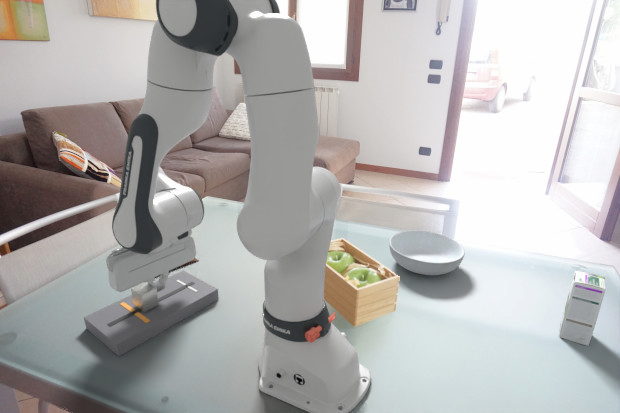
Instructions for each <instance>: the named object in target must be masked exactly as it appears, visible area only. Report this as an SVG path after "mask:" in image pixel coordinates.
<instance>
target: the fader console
mask: <svg viewBox="0 0 620 413" xmlns="http://www.w3.org/2000/svg"><path fill="white" fill-rule="evenodd" d="M165 284H166V288H165V289H163V290H161V291H159V292H157V297H158V304H159V305H157V306H155V307H153V308H151V309H149V310H147V311H145V312H143V311H142V310H141V309H139V308H138V307H136V306H135V305H134V304H133V298H132V294H130V295H128V296H126V297H124V298H122V299H120V300H118V301H116V302H114V303H112V304H109V305H107V306H105V307H103V308H101V309H98V310H96V311H94V312H93V313H90V314H88V315H86V316H84V317H83V320H84V324H85V329H86V330H88V331H89V332H90V333H91V334H92V335H93V336H94V337H95V338H97V339H98V340H99V341H101V343H103V344H104V345H105V346H106V347H107V348H108V349H110V350H111V351H112V352H113V353H115V355H117V357H121V356H122V355H124V354H126V353H128V352H129V351H131V350H132V349H133V350H134V348H136V347H138V346H140V345H141V344H143V343H145V342H148V341H149V340H150V339H152V338H154V337H155V336H157V335H159V334H162V332H165V331H166V330H168V329H169V328H171V327H173V326H174V325H177V324H179V323H180V322H182V321H183V320H185V319H187V318H188V317H190V316H192V315H194V314H196V313H198V312H199V311H201V310H202V309H204V308H206V307H208V306H210V305H212V303H215V302H217V301H218V300H219V298H220V297H219V288H217V287H215V286H213V285H211V284H209V283H207V282H206V281H203V279H202V280H201V279H200V278H198V277H196V276H194V275H192V274H190V273H189V272H187V271H185V270H181V271H180V272H179V271H178V272H177V273H175V274H173V275H171V276H168V278H167V280H166V282H165Z"/></svg>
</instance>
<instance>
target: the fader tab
mask: <svg viewBox="0 0 620 413" xmlns="http://www.w3.org/2000/svg"><path fill="white" fill-rule="evenodd" d="M130 292H131V295H132V298H133V304H134V305H135V306H136V307H138V308H139V309H141V310H142V311H143V312H145V311H147V310H149V309H151V308H153V307H155V306H157V305H159V304H158V297H157V290H156V288H155V287H153V286H151V285H150V284H148V283H147V282H144V283H141V284H139V285H136V286H134V287H132V288H130Z"/></svg>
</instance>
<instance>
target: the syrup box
mask: <svg viewBox="0 0 620 413" xmlns="http://www.w3.org/2000/svg"><path fill="white" fill-rule="evenodd" d="M573 273H574V274H573V277H572V282H571V283H570V288H569V293H568V295H567V300H566V302H565V305H564V306H565V307H564V310H563V312H562V313H563V314H562V318H561V321H560V324H559V325H560V327H559V337H560V338H561V339H564V340H567V341H569V342H570V341H571V342H574V343H577V344H581V345H583V346H586V347H589V345H590V343H591V339H592V336H593V334H594V330H595V328H596V324H597V321H598V318H599V313H600V310H601V308H602V307H601V306H602V303H603V301H604V296H605V294H606V278H605V277H604V276H600V275H597V274H594V273H590V272H586V271H585V272H584V271H578V270H575V271H574V272H573Z"/></svg>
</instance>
